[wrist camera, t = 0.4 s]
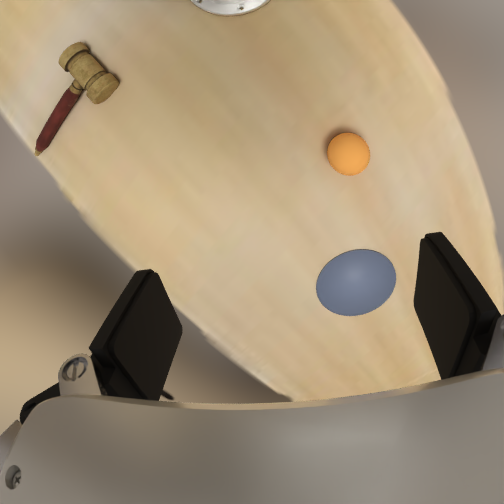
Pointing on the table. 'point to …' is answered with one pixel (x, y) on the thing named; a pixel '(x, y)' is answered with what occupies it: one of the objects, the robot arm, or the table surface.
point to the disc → (356, 282)
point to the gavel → (77, 88)
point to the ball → (348, 154)
